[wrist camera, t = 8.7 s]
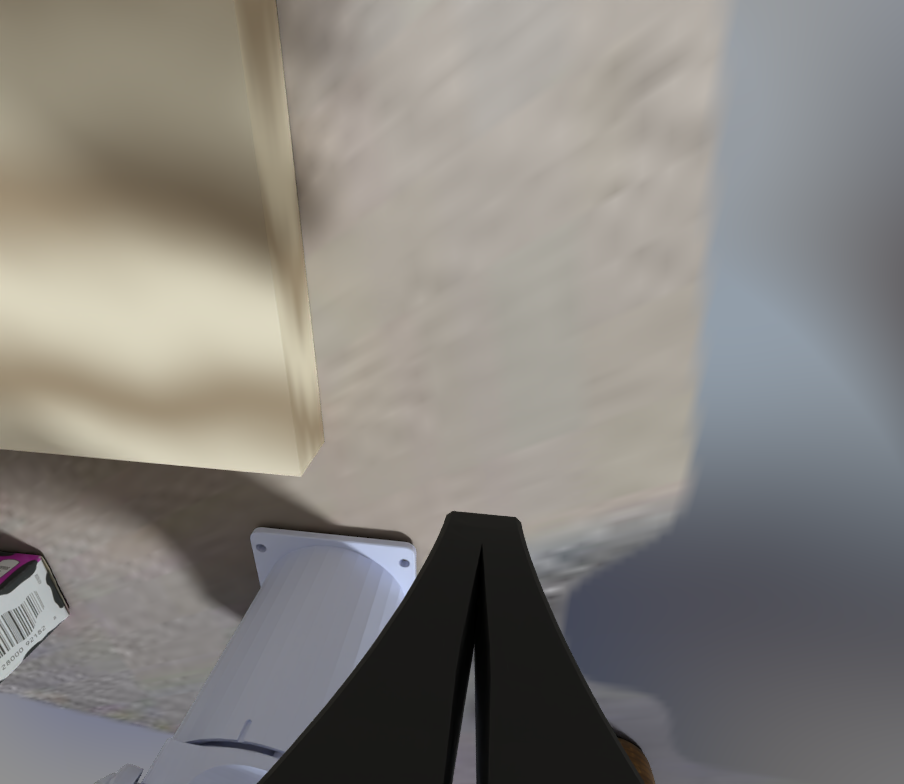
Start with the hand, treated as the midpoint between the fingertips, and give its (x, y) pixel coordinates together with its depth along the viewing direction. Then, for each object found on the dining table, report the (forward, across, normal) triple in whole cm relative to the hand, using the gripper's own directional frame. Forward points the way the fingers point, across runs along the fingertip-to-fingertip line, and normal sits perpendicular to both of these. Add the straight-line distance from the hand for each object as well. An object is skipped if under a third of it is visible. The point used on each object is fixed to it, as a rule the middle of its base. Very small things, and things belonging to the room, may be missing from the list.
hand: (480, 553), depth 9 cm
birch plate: (+9, +14, -5) cm, 17 cm away
